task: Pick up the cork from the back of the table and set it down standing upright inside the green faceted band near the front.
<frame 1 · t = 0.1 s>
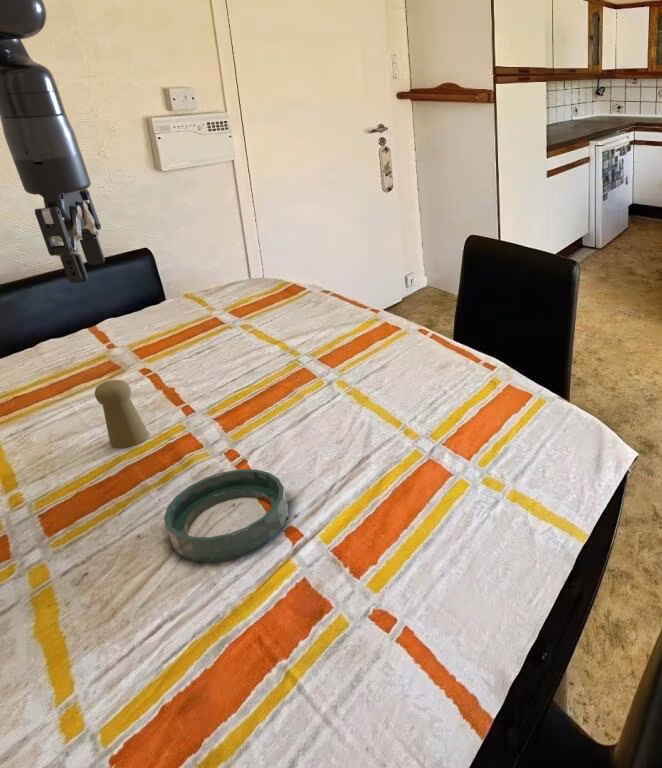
hand: (88, 272, 89), 32 cm above the table, tool pointing down, fingers open, 8 cm apart
green faceted band: (233, 529, 88), on the table
cork: (130, 439, 110), on the table
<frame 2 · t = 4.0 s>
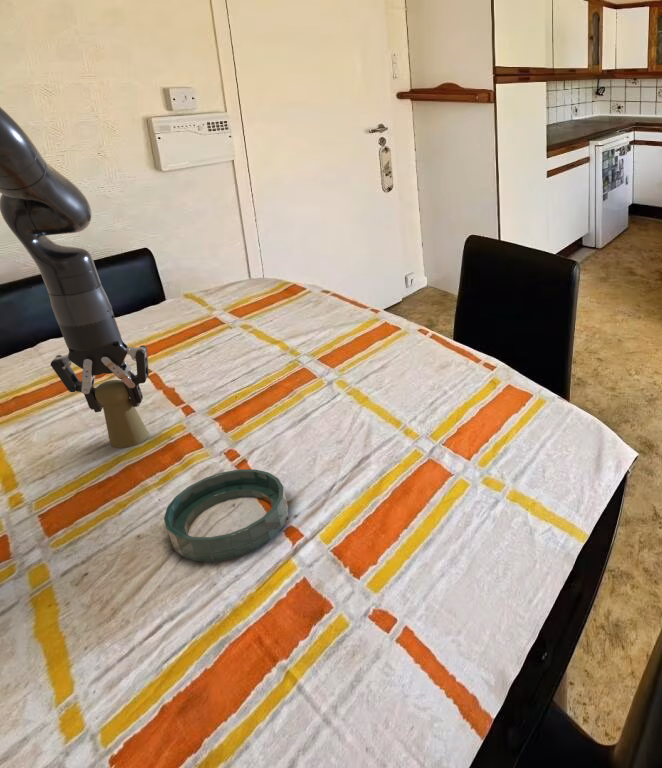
hand: (118, 406, 107), 6 cm above the table, tool pointing down, fingers closed on cork, 5 cm apart
cork: (130, 439, 110), on the table, touching gripper
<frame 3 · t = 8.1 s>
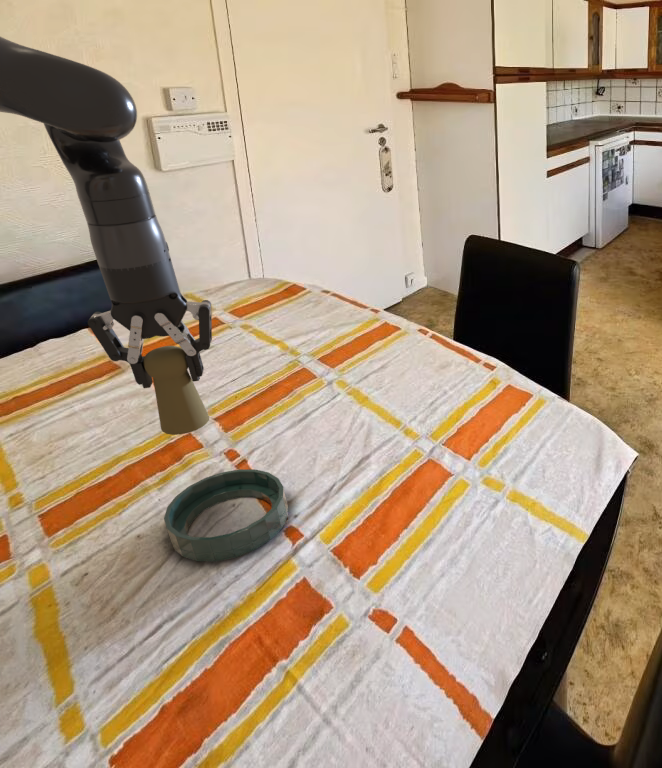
hand: (172, 381, 82), 22 cm above the table, tool pointing down, fingers closed on cork, 5 cm apart
cork: (186, 424, 85), point 15 cm above the table, touching gripper
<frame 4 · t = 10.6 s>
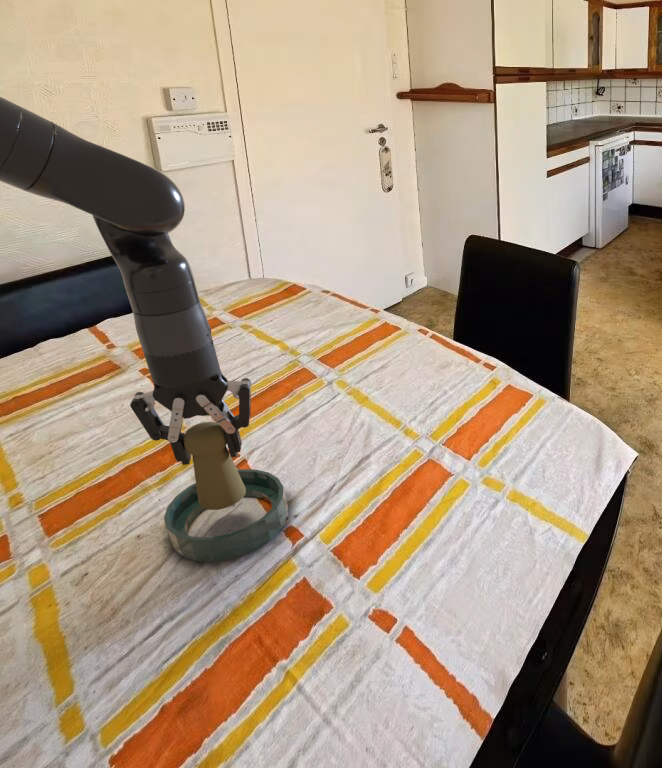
hand: (211, 457, 82), 13 cm above the table, tool pointing down, fingers closed on cork, 5 cm apart
cork: (222, 496, 85), point 6 cm above the table, touching gripper
when the fingers open (7 cm above the table, at t = 12.4 s): cork stays where it is, resting on green faceted band.
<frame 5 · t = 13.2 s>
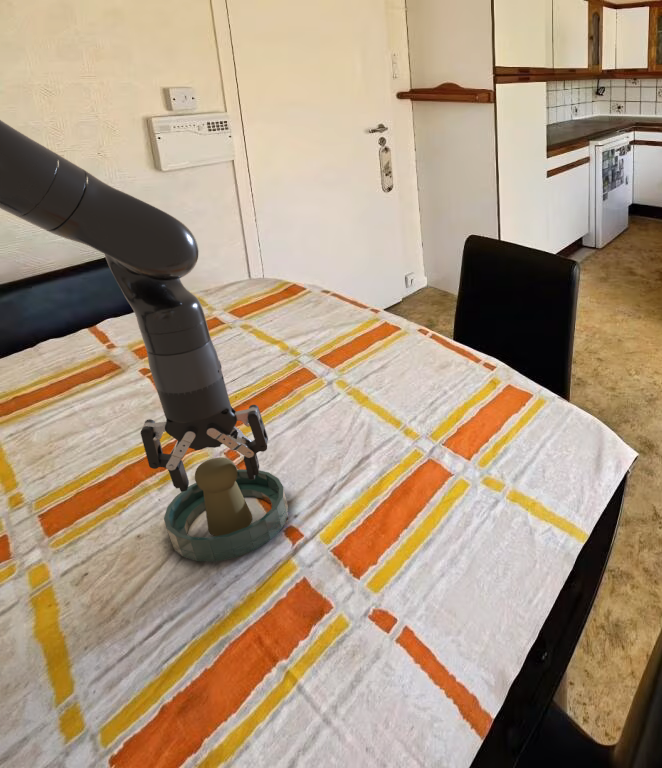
hand: (219, 482, 84), 8 cm above the table, tool pointing down, fingers open, 8 cm apart
cork: (232, 528, 88), resting on green faceted band
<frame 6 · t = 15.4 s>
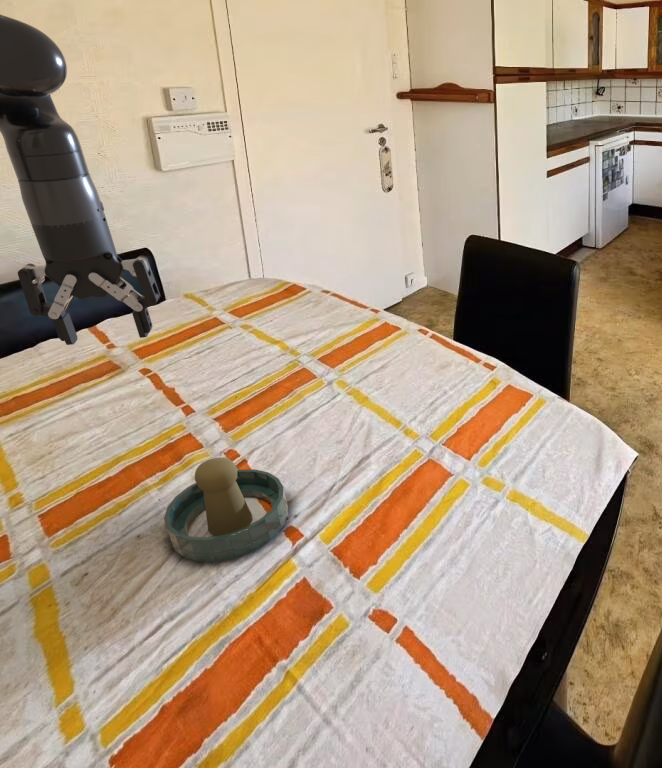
hand: (109, 338, 82), 27 cm above the table, tool pointing down, fingers open, 8 cm apart
nothing on the table moved.
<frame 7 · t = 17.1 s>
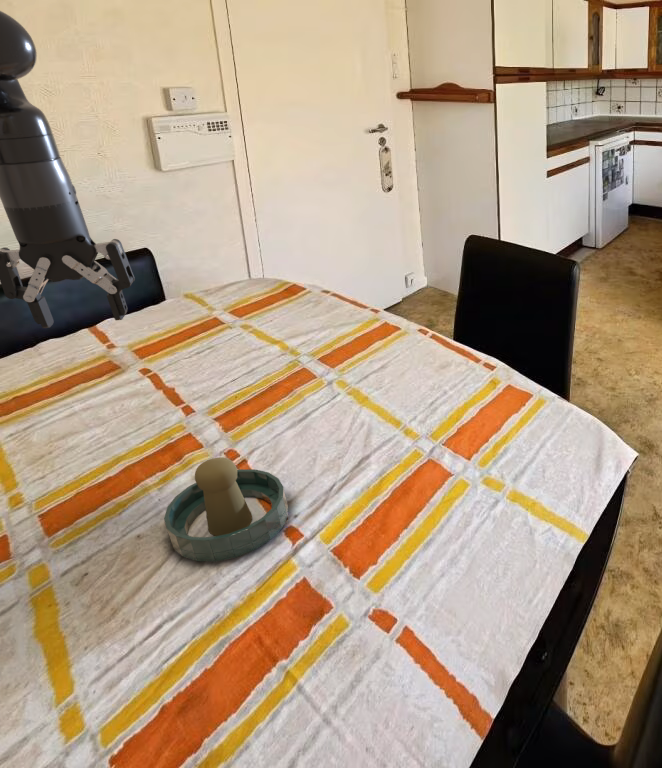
hand: (85, 322, 83), 28 cm above the table, tool pointing down, fingers open, 8 cm apart
nothing on the table moved.
at the end: cork inside the target area in the green faceted band (0.1 cm from its centre), point 0.3 cm above the green faceted band's base; cork tilted 0°; the gripper is holding nothing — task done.
